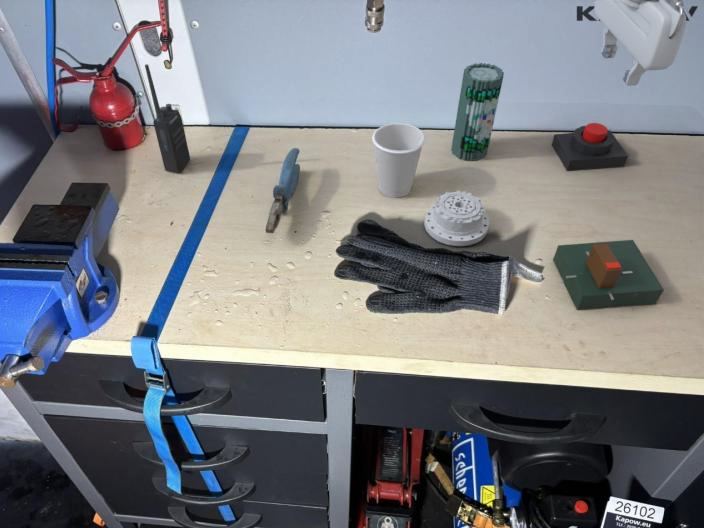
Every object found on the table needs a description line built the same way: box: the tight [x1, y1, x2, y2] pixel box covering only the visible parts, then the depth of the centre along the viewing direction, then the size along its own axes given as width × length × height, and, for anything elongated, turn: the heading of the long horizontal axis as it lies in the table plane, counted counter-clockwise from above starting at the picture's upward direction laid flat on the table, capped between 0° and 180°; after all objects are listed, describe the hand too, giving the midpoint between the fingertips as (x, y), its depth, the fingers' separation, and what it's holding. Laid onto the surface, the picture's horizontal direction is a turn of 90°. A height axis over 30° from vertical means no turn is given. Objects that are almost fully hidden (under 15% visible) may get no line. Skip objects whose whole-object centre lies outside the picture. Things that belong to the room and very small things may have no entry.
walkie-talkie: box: [144, 63, 191, 174], centre depth 103 cm, size 5×3×20 cm
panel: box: [552, 239, 665, 311], centre depth 85 cm, size 12×11×3 cm
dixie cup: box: [371, 122, 426, 199], centre depth 100 cm, size 8×8×10 cm
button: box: [582, 122, 609, 143], centre depth 103 cm, size 4×4×2 cm
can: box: [450, 62, 505, 162], centre depth 104 cm, size 6×6×15 cm
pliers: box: [265, 147, 301, 234], centre depth 99 cm, size 20×2×6 cm, turn 168°
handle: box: [586, 244, 622, 288], centre depth 82 cm, size 5×2×4 cm, turn 3°
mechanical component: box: [423, 189, 490, 247], centre depth 94 cm, size 10×4×10 cm
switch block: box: [551, 125, 629, 172], centre depth 105 cm, size 10×8×4 cm
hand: (618, 69), depth 95 cm, fingers open, 7 cm apart
